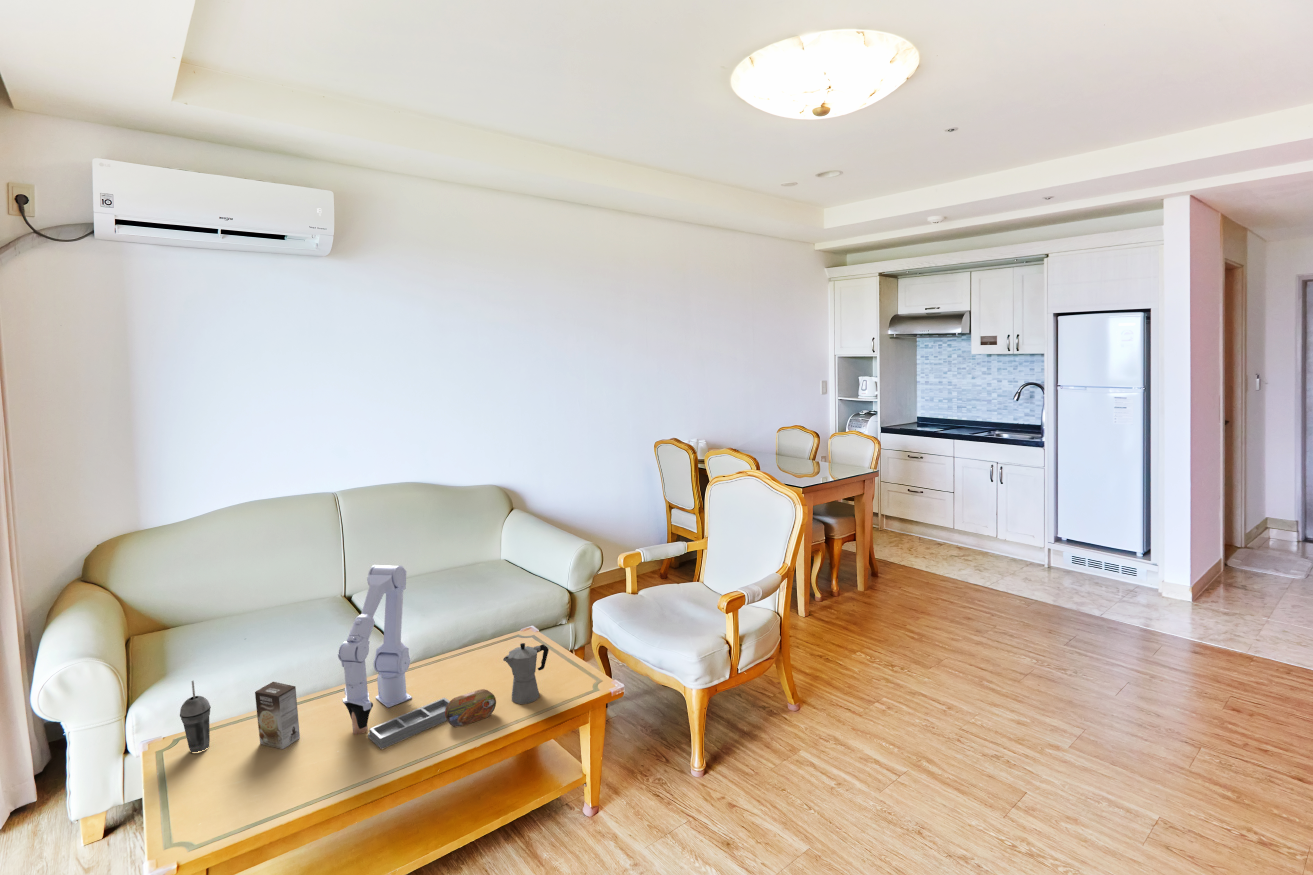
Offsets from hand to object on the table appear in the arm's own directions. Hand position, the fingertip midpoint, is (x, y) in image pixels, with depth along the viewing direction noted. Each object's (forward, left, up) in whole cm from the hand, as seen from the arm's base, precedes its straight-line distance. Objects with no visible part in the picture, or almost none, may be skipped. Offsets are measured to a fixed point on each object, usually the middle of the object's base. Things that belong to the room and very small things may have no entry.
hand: (359, 724), depth 196 cm
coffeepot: (+21, +45, -2) cm, 50 cm away
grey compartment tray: (+10, +12, -2) cm, 16 cm away
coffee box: (-12, -18, -2) cm, 22 cm away
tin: (+20, +25, -2) cm, 32 cm away
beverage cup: (-25, -35, -2) cm, 43 cm away
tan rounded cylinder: (0, 0, -2) cm, 2 cm away
